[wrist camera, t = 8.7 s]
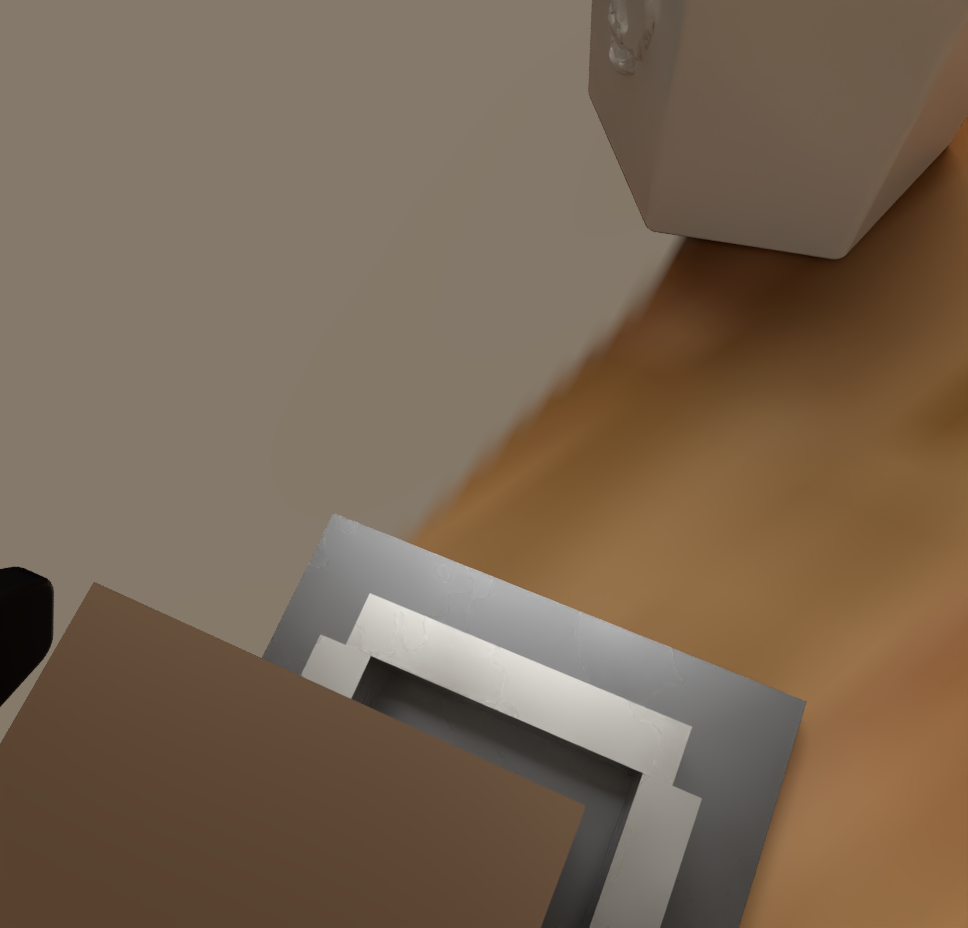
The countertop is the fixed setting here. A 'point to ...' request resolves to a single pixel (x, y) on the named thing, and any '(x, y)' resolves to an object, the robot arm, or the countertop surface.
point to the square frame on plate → (558, 721)
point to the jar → (777, 111)
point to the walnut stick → (250, 798)
